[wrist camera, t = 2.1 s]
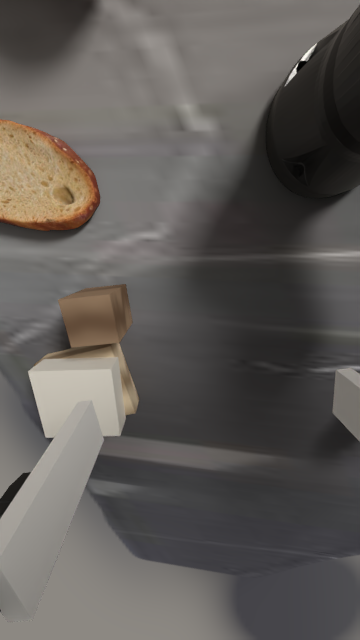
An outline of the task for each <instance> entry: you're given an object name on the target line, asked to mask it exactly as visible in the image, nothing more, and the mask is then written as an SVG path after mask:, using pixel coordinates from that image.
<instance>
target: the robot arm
mask: <svg viewBox="0 0 360 640" xmlns="http://www.w3.org/2000/svg"><path fill="white" fill-rule="evenodd" d="M266 146H267V153H268V157H269V161H270V164H271V166H272V168H273V171H274V172H275V174H276V176H277V177H278V179H279V180H280V181H281V182H282V183H283V184H284V185H285V186H286V187H287V188H288V189H290V190H291V191H293V192H294V193H296V194H298V195H301V196H304V197H309V198H325V197H330V196H334V195H337V194H339V193H342V192H345V191H348V190H350V189H352V188H354V187H356V186H358V185H360V5H359V6H358V8H357V9H356V11H355V12H354V13H353V15H352V16H351V17H350V19H349V20H347V21H346V22H345V23H343V24H342V25H341V26H339V27H338V28H337V29H335V30H334V31H332V32H331V33H330V34H328V35H327V36H326V37H324V38H323V39H322V40H320V41H319V42H318V43H316V44H315V45H314V46H313V47H311V48H310V49H309V50H308V51H307V52H306V53H305V54H304V55H303V56H302V57H301V58H300V59H299V61H298V62H297V63H296V64H295V66H294V67H293V68H292V70H291V71H290V73H289V74H288V76H287V77H286V79H285V81H284V82H283V84H282V85H281V87H280V89H279V90H278V92H277V94H276V96H275V99H274V101H273V103H272V106H271V109H270V113H269V117H268V121H267V129H266ZM333 414H334V415H335V416H336V417H337V418H338V419H339V420H340V421H341V422H342V423H343V425H344V426H345V427H346V428H347V429H348V430H349V431H350V432H351V433H352V434H353V435H354V436H355V437H356V438H357V439H358V440H359V441H360V374H359V373H358V372H356V371H355V370H353V369H352V368H346V369H338V370H336V375H335V388H334V401H333ZM103 441H104V438H103V435H102V432H101V428H100V425H99V422H98V419H97V415H96V412H95V409H94V406H93V403H92V400H89V401H81V402H78V403H77V404H76V406H75V407H74V409H73V410H72V412H71V413H70V415H69V416H68V418H67V419H66V421H65V422H64V424H63V425H62V427H61V428H60V430H59V431H58V433H57V434H56V436H55V437H54V439H53V440H52V442H51V443H50V445H49V446H48V448H47V450H46V451H45V452H44V454H43V456H42V457H41V459H40V460H39V461H38V463H37V465H36V466H35V467H34V469H33V470H32V472H29V473H23V474H22V475H21V476H20V477H19V478H18V479H17V480H16V481H15V482H14V483H12V484H11V485H10V486H9V488H8V489H7V491H6V492H5V493H4V495H3V496H2V498H1V499H0V612H1V613H2V615H3V616H4V617H5V619H6V620H7V622H18V621H30V620H32V619H33V617H34V615H35V612H36V610H37V607H38V605H39V602H40V600H41V597H42V595H43V592H44V589H45V587H46V584H47V582H48V580H49V577H50V575H51V572H52V569H53V567H54V564H55V562H56V559H57V557H58V554H59V551H60V549H61V547H62V544H63V542H64V539H65V537H66V534H67V532H68V529H69V527H70V524H71V522H72V519H73V517H74V514H75V511H76V509H77V506H78V503H79V501H80V499H81V496H82V494H83V491H84V489H85V486H86V484H87V481H88V479H89V476H90V474H91V471H92V469H93V466H94V464H95V461H96V459H97V456H98V454H99V451H100V449H101V446H102V443H103Z"/></svg>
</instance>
